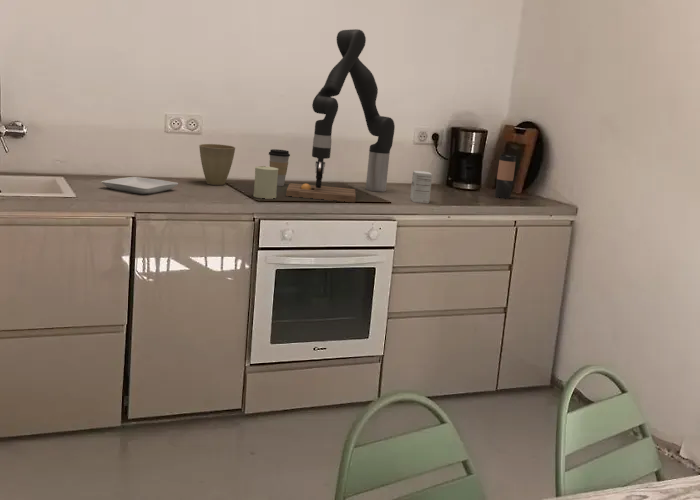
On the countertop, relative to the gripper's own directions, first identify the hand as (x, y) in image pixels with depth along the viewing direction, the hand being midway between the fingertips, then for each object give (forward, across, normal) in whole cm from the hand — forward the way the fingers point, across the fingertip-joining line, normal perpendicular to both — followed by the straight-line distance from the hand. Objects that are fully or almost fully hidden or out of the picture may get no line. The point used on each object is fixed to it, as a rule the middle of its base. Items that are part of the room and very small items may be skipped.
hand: (318, 187), depth 331 cm
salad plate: (+4, -25, +68) cm, 72 cm away
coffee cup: (+3, +20, +18) cm, 27 cm away
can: (+4, -16, +20) cm, 26 cm away
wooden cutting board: (+3, 0, -2) cm, 4 cm away
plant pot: (+3, +6, +44) cm, 44 cm away
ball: (+1, 0, +5) cm, 5 cm away
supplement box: (+3, +9, -44) cm, 45 cm away
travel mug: (+3, +44, -86) cm, 97 cm away
